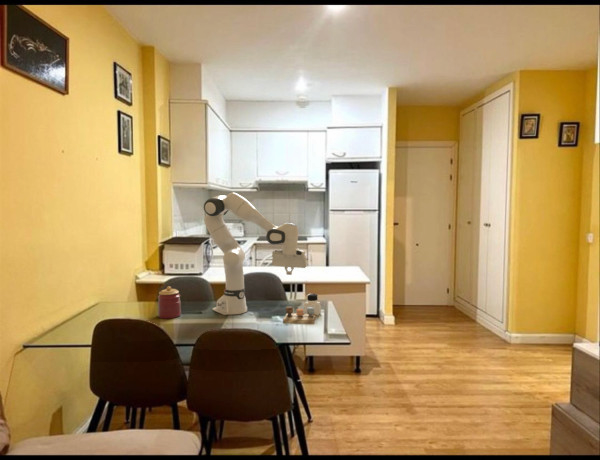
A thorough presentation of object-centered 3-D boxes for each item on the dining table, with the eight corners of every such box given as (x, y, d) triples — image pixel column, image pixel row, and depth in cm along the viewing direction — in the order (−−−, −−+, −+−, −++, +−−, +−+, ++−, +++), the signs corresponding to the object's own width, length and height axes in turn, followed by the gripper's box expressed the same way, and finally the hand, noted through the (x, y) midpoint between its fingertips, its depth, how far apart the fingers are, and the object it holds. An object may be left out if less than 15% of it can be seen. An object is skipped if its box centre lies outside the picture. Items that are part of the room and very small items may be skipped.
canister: (169, 311, 243) (168, 283, 242) (185, 314, 238) (185, 285, 236) (153, 317, 232) (152, 287, 230) (170, 320, 226) (169, 289, 225)
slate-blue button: (306, 317, 221) (306, 308, 221) (307, 315, 225) (307, 306, 225) (313, 317, 220) (313, 309, 220) (314, 315, 224) (314, 307, 224)
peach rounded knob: (295, 319, 222) (295, 310, 222) (297, 317, 226) (297, 308, 226) (302, 319, 221) (302, 310, 221) (304, 317, 225) (303, 308, 225)
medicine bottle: (320, 314, 235) (320, 294, 234) (313, 316, 230) (312, 296, 229) (311, 311, 240) (311, 292, 239) (304, 314, 235) (303, 294, 234)
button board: (283, 322, 219) (283, 318, 219) (287, 316, 231) (287, 312, 231) (313, 323, 216) (313, 320, 216) (316, 317, 228) (316, 314, 228)
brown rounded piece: (285, 316, 223) (285, 308, 223) (286, 314, 227) (286, 306, 227) (292, 317, 222) (292, 308, 222) (293, 315, 226) (293, 306, 226)
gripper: (271, 250, 228) (270, 274, 229) (306, 252, 225) (305, 276, 226) (273, 249, 234) (272, 272, 235) (307, 251, 231) (306, 274, 232)
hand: (289, 274), depth 230 cm, fingers closed
